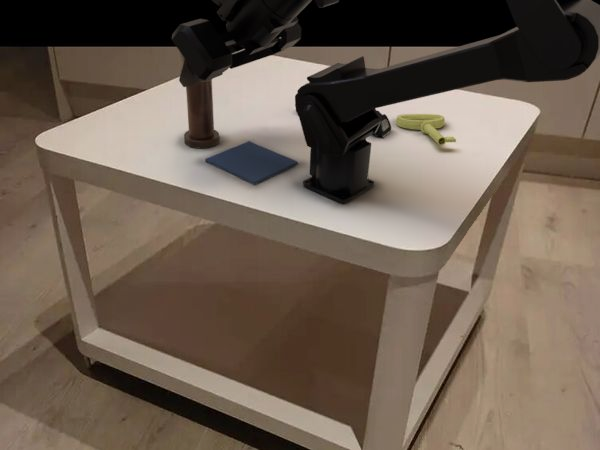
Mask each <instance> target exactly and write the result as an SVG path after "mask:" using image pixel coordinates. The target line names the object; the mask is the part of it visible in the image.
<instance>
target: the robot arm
mask: <svg viewBox="0 0 600 450" xmlns="http://www.w3.org/2000/svg"><path fill="white" fill-rule="evenodd" d="M312 1H314V3H315V4H316V6H317V8H319V9H320V8H321V9H323V8H325V7H328V6H331V5H335V4H337V3H339V2H340V0H211V2H213V3H214V4H216V5H217V6H218V7H219V8H218V9H217V11H216V14H217V15H218V17H219V18H220V20H221V21H223V22H226V24H225V27H226V30H227V32H224V33H221V34H219V32H218V31H217V30H216V28H215V27H214V25H213V24H212V22H211V20H208V19H204V18H198V19H194V20H191V21H187V22H184V23H180V24H179V25H178V27H176V29H175V30H174V31H173V33H172V35H171V41H172V42H173V44H174V45H175V47H176V48H177V50H178V52H179V51H180V52H181V54H182V55H183V57H184V58H185V59H184V64H183V67H182V71H180V75H179V79H178V81H179V83H180V84H181V86H182V87H183V88H186V87H187V86H190V85H193V84H196V83H200V82H203V81H208V80H210V79H212V80H213V79H216V78H218V77H220V76H222V75H223V74H224V73H225V72H227V70H229V69H231V70H232V69H236V68H238V67H242V66H244V65H246V64H250V63H253V62H256V61H258V60H262V59H264V58H268V57H270V56H273V55H276V54H278V53H282V52H284V51H285V50H287V49H289V48H291V47H294V46H295V44H297V43H298V42H299V41H300V40H301V39H302V27H301V25H300V24H299V18H298V17H297V16H298V15H299V14H300V13H301V12H302V11H303V10H304V9H306V7H307V6H308V5H309V4H310V3H311V2H312ZM505 2H506V4H507V7H508V9H509V12H510V14H511V17H512V20H513V22H514V24H515V26H516V27H514V28H511V29H509V30H508V31H506V32H504V33H501V34H499V35H496V36H491V37H488V38H485V39H482V40H481V39H480V40H478V41H475V42H470V43H467V44H463V45H460V46H456V47H453V48H449V49H446V50H441V51H438V52H434V53H431V54H427V55H424V56H421V57H416V58H413V59H410V60H406V61H402V62H399V63H396V64H392V65H389V66H385V67H380V68H372V67H371V68H370V67H366V61H365V57H364V56H363V55H361V56H359V57H358V58H356V59H353V60H351V61H350V62H347V63H342V62H336V63H334V64H332V65H329V66H327V67H326V68H324V69H321V70H319V71H317V72H316V73H313V74H311V75H309V76H307V77H306V80H307V83H305V84H303V85H301V86H300V87H299V88H298V89H297V92H296V94H297V95H296V94H295V95H296V99H295V98H294V102H295V103H294V107H295V112H296V115H297V116H298V119H299V122H300V125H301V130H302V133H303V138H304V142H305V145H306V146H307V148H310V151H309V152H310V154H309V155H310V156H309V173H308V174H309V176H310V177H308V178H307V179H305V180H303V181H302V186H303V187H305V188H307V189H309V190H311V191H315V192H316V193H318V194H321V195H323V196H325V197H327V198H329V199H332V200H334V201H336V202H338V203H341V204H346V203H348V202H349V201H351V200H352V199H354V198H356V197H358V196H359V195H361V194H363V193H365V192H367V191H368V190H370V189H371V188H373V187H375V180H372V179H369V171H370V170H369V169H370V162H371V161H370V160H371V150H372V142H370V141H368V140H367V139H368V138H369V137H370V136H371V135H375V134H374V133H376V132H377V130H378V128H379V126H380V124H381V122H382V118H381V116H380V115H379V114H378V112H377V111H378V110H377V109H379V108H383V107H386V106H391V105H396V104H398V103H399V104H400V103H404V102H408V101H413V100H417V99H422V98H426V97H430V96H435V95H439V94H443V93H447V92H451V91H455V90H460V89H464V88H468V87H473V86H476V85H482V84H486V83H490V82H494V81H512V82H522V83H542V82H559V81H560V82H561V81H568V80H569V81H570V80H572V79H574V78H577V77H579V76H581V75H582V74H583V73H585V72H586V71H587V70H588V69H589V68H590V67H591V66H592V65H593V64H594V63H595V62H596V60H597V59H598V58H599V57H600V4H598V3H597V2H595V1H594V0H505ZM376 110H377V111H376Z"/></svg>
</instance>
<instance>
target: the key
mask: <svg viewBox="0 0 600 450" xmlns="http://www.w3.org/2000/svg"><path fill="white" fill-rule="evenodd" d="M395 123H396V126H398V127H400V128H404V129H408V130H409V129H410V130H420V131H421V132H422V133H423V134H425V135H429V136H430V138H431V139H433V141H434V142H436V144H437V145H439V146H444V145H445V144H446V143H456V142H457V139H456V138H455V137H454V136H444V135H443V134H441V133H440V132H439V130H437V129H440V128H442V127H444V125H445V123H446V122H445V116H444V115H440V114H435V113H411V114H410V113H406V114H405V113H404V114H399V115H397V116H396V118H395Z"/></svg>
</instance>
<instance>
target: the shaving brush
mask: <svg viewBox="0 0 600 450" xmlns="http://www.w3.org/2000/svg"><path fill="white" fill-rule="evenodd" d="M178 57H179V70H180V72H181V71H182V67H183V64H184V59H185V58H184V57H183V55H182V54H181V52H180V51H179V50H178ZM185 93H186V107H187V108H186V109H187V124H188V125H187V126H188V130H187V131H185V132H184V133H183V141H184V144H185V145H186V146H188V147H189V148H194V149H208V148H213V147H215V146H217V145H218V144H219V143H220V133H219V131H217V130H216V129H215V122H214V120H215V118H214V100H213V99H214V97H213V96H214V94H213V79H210V80H208V81H203V82H200V83H196V84H193V85H190V86H187V87H185Z"/></svg>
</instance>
